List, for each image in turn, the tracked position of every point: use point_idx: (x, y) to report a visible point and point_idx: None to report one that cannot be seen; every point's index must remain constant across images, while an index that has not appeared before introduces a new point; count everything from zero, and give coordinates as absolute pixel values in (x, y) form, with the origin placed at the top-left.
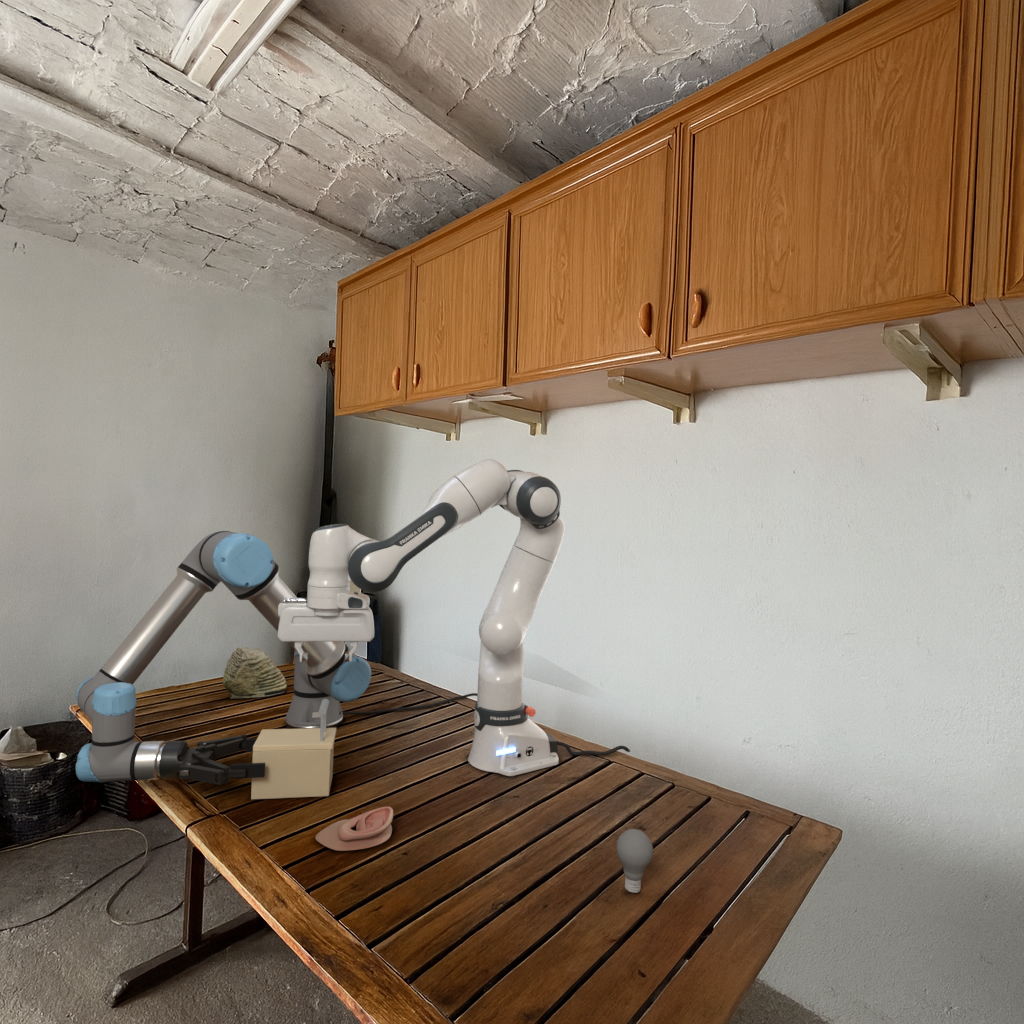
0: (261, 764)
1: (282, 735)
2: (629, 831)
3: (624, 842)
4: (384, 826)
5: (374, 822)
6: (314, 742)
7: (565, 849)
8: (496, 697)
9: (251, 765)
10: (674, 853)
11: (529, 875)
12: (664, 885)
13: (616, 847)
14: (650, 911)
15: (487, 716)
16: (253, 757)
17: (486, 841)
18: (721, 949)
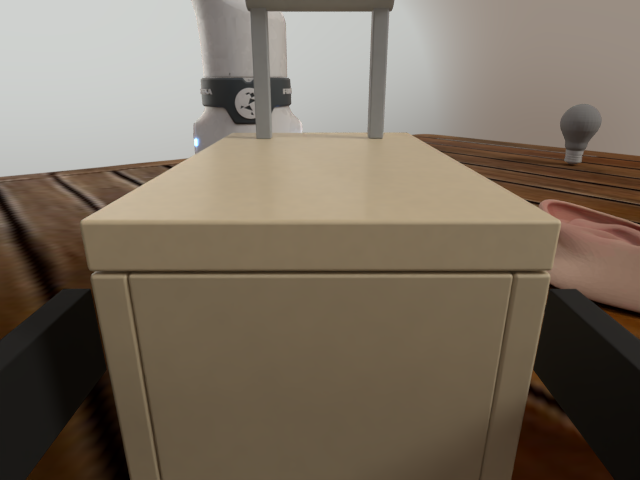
0: (588, 299)
1: (293, 172)
2: (585, 105)
3: (595, 112)
4: (610, 215)
5: (592, 226)
6: (401, 141)
7: (511, 174)
8: (282, 51)
9: (637, 343)
10: (488, 154)
11: (587, 186)
12: (548, 159)
13: (585, 124)
14: (598, 164)
15: (278, 90)
16: (540, 320)
17: (523, 196)
18: (625, 157)
